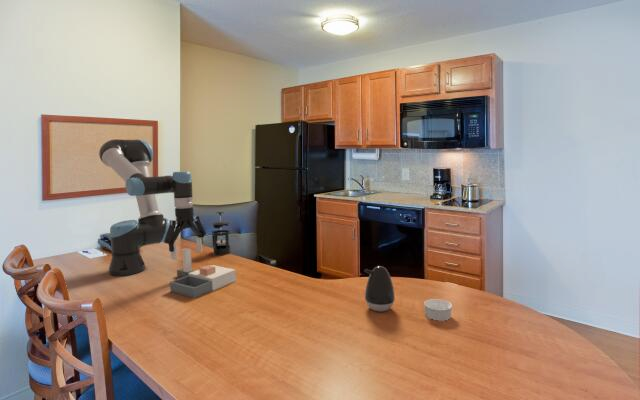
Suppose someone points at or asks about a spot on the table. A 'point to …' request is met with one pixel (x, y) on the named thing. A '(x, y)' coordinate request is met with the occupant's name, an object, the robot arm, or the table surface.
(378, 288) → the pump dispenser
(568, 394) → the table surface
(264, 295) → the table surface
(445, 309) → the ramekin
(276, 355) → the table surface
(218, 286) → the plate
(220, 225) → the french press
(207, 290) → the box
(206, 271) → the tile
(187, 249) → the scraper
